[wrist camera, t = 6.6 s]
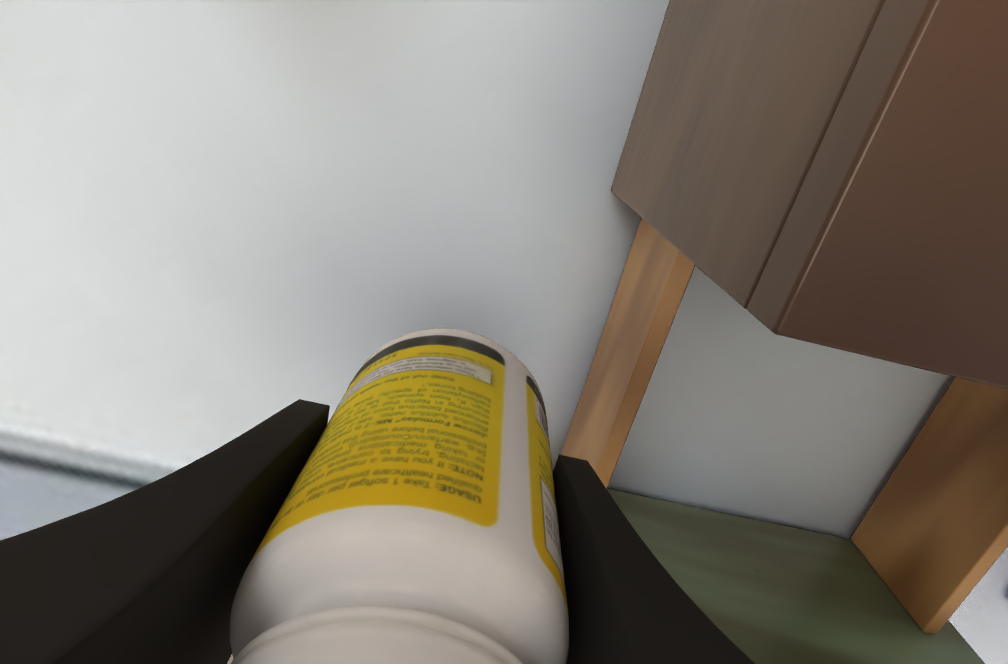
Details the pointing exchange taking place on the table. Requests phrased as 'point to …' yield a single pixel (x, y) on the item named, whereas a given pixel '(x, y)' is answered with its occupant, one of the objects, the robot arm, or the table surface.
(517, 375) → the supplement bottle
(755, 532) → the drawer
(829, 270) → the cabinet
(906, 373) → the table surface
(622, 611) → the robot arm
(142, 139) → the table surface
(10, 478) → the table surface
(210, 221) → the table surface
